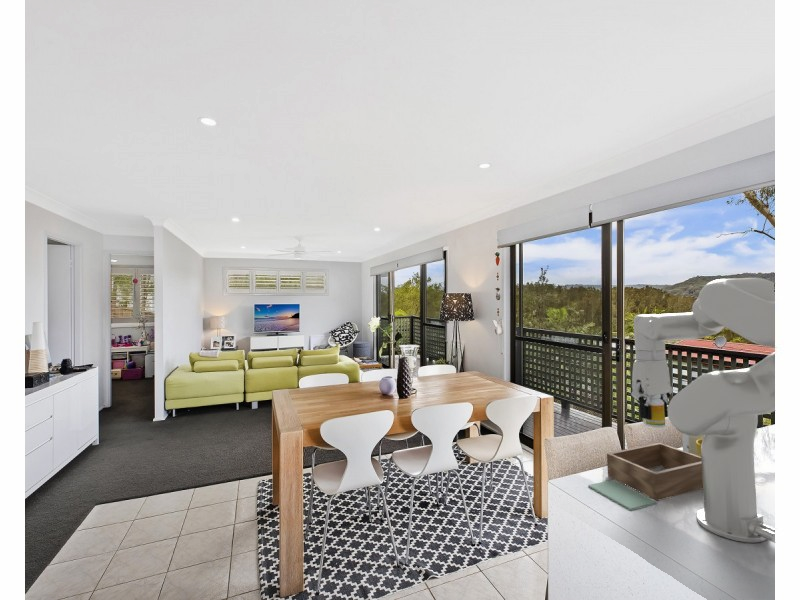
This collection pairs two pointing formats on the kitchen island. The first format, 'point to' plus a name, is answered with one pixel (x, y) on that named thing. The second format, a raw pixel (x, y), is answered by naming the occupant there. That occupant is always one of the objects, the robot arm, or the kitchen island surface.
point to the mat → (622, 494)
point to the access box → (661, 484)
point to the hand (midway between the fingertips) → (654, 416)
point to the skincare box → (690, 443)
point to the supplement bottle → (656, 412)
